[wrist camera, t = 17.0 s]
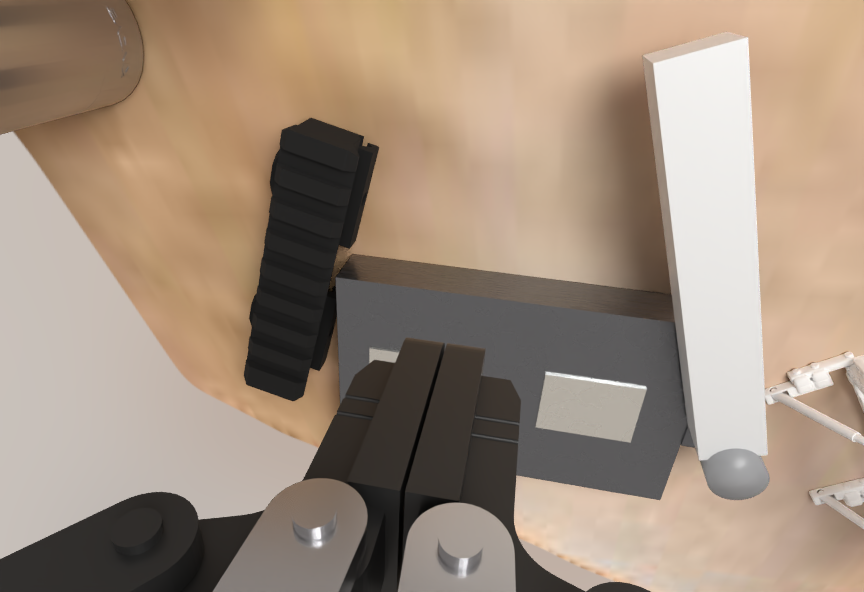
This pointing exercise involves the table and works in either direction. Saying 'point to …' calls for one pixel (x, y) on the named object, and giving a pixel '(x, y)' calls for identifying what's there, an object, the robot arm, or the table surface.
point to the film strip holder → (827, 421)
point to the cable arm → (713, 251)
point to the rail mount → (305, 252)
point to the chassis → (538, 361)
